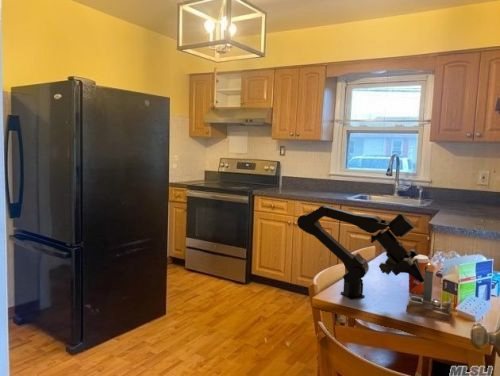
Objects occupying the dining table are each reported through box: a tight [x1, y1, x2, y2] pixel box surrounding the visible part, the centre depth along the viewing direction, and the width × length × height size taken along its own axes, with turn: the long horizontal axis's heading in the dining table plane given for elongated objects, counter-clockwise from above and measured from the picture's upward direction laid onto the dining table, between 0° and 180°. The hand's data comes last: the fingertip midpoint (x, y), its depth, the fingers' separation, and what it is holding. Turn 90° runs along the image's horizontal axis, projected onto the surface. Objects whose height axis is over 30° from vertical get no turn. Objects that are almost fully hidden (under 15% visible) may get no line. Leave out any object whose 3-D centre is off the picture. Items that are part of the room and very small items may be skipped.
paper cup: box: [408, 253, 430, 295], centre depth 149 cm, size 8×8×14 cm
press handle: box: [421, 263, 442, 308], centre depth 129 cm, size 6×3×14 cm, turn 58°
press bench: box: [405, 295, 453, 322], centre depth 130 cm, size 13×8×6 cm, turn 58°
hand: (423, 281), depth 131 cm, fingers closed
